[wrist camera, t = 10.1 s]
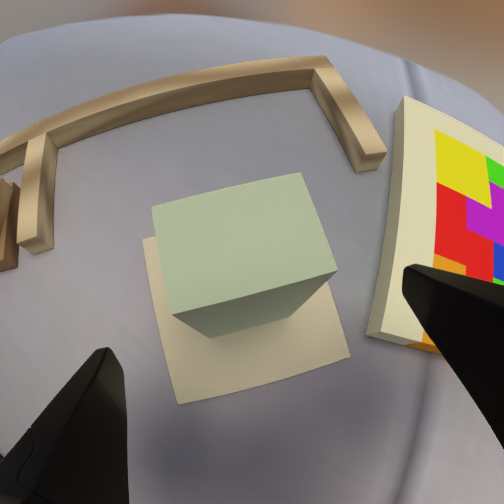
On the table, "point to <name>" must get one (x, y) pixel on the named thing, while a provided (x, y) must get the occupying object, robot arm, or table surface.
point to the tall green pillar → (242, 254)
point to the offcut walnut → (10, 233)
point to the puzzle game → (437, 214)
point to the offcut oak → (4, 200)
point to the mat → (244, 344)
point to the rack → (168, 100)
